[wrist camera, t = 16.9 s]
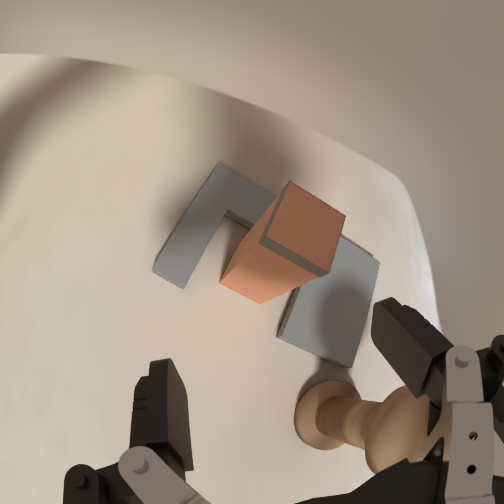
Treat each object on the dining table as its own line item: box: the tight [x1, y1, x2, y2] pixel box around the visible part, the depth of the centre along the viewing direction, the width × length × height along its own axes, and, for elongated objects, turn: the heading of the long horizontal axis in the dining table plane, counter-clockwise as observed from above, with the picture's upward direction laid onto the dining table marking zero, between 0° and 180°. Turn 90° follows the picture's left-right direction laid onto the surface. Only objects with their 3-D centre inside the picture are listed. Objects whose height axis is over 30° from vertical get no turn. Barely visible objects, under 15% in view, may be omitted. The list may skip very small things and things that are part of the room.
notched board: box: [152, 164, 380, 368], centre depth 27 cm, size 20×12×1 cm, turn 66°
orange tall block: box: [220, 181, 346, 304], centre depth 21 cm, size 4×4×11 cm
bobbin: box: [294, 380, 428, 474], centre depth 19 cm, size 7×7×11 cm
